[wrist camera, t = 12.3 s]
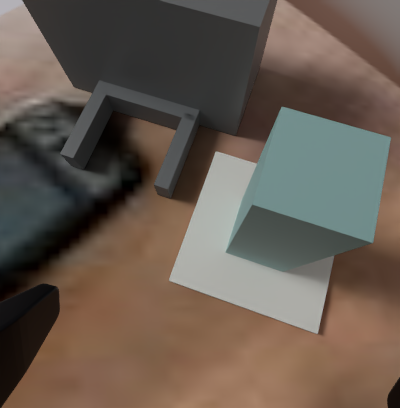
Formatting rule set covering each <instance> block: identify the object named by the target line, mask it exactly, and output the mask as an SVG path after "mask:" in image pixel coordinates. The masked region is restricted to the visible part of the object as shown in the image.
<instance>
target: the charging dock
mask: <svg viewBox="0 0 400 408" xmlns="http://www.w3.org/2000/svg"><path fill="white" fill-rule="evenodd" d="M22 1H23V2H24V4H25V6H26V7H27V9H28V11H29V12H30V14H31V16H32V17H33V19H34V21H35V22H36V24H37V26H38V28H39V29H40V31H41V33H42V34H43V36H44V38H45V39H46V41H47V43H48V44H49V46H50V48H51V49H52V51H53V53H54V54H55V56H56V58H57V59H58V61H59V63H60V64H61V66H62V68H63V70H64V71H65V73H66V75H67V76H68V78H69V80H70V81H71V83H72V85H73V86H74V87H76V88H79V89H82V90H86V91H89V92H92V95H91V97H90V99H89V101H88V102H87V104H86V106H85V108H84V110H83V112H82V114H81V116H80V118H79V119H78V121H77V123H76V125H75V127H74V129H73V131H72V133H71V134H70V136H69V138H68V140H67V142H66V144H65V146H64V148H63V149H62V151H61V153H60V154H61V155H62V156H63V157H64V158H65V160H66V161H67V162H68V163H69V164H70V165H71V166H73V167H76V168H79V169H82V170H84V168H85V166H86V164H87V162H88V160H89V158H90V156H91V154H92V152H93V150H94V148H95V146H96V144H97V142H98V140H99V138H100V136H101V134H102V132H103V130H104V128H105V126H106V124H107V122H108V120H109V118H110V116H111V114H112V112H113V111H117V112H120V113H123V114H126V115H130V116H133V117H136V118H140V119H143V120H146V121H149V122H153V123H156V124H159V125H162V126H166V127H169V128H172V129H175V130H176V133H175V135H174V138H173V140H172V142H171V145H170V147H169V150H168V152H167V154H166V157H165V159H164V162H163V164H162V166H161V169H160V171H159V174H158V176H157V178H156V181H155V183H154V186H155V189H156V191H157V194H158V195H161V196H164V197H167V198H170V199H171V196H172V194H173V191H174V189H175V186H176V183H177V181H178V178H179V176H180V173H181V171H182V168H183V166H184V163H185V161H186V158H187V156H188V153H189V150H190V148H191V145H192V143H193V140H194V138H195V135H196V133H197V130H198V128H199V125H201V126H204V127H207V128H211V129H214V130H217V131H221V132H224V133H227V134H231V135H234V136H236V134H237V131H238V128H239V125H240V122H241V119H242V117H243V114H244V111H245V108H246V105H247V102H248V99H249V97H250V94H251V91H252V88H253V85H254V82H255V79H256V77H257V74H258V71H259V68H260V64H261V61H262V57H263V53H264V49H265V45H266V41H267V38H268V34H269V30H270V26H271V22H272V18H273V14H274V11H275V7H276V3H277V0H22Z"/></svg>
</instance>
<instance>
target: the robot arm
mask: <svg viewBox="0 0 400 408" xmlns="http://www.w3.org/2000/svg"><path fill="white" fill-rule="evenodd" d="M59 311H60V303H59V289H58V287H56V286H53V285H49V284H40V285H38V286H35V287H33V288H31V289H29V290H27V291H24V292H22V293H20V294H18V295H15V296H13V297H11V298H9V299H7V300H4V301H2V302H0V408H1V407H2V406H3V404H4V403H5V401H6V400H7V399H8V397H9V396H10V394H11V393H12V391H13V390H14V389H15V387H16V386H17V384H18V383H19V382H20V380H21V379H22V377H23V376H24V374H25V373H26V371H27V369H28V368H29V366H30V365H31V363H32V361H33V359H34V358H35V356H36V354H37V352H38V351H39V349H40V347H41V345H42V344H43V342H44V340H45V338H46V337H47V335H48V333H49V332H50V330H51V328H52V326H53V325H54V323H55V321H56V319H57V317H58V315H59ZM387 405H388V408H400V377H399V379H398V380H397V382H396V383H395V385H394V386H393V388H392V389H391V391H390V392H389V394H388V398H387Z"/></svg>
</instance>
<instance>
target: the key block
mask: <svg viewBox="0 0 400 408" xmlns="http://www.w3.org/2000/svg"><path fill="white" fill-rule="evenodd" d="M390 140H391V137H388V136H384V135H381V134H377V133H374V132H370V131H367V130H363V129H360V128H356V127H353V126H349V125H346V124H342V123H339V122H335V121H331V120H328V119H324V118H321V117H317V116H314V115H310V114H307V113H303V112H300V111H296V110H293V109H289V108H286V107H281V109H280V112H279V114H278V116H277V119H276V121H275V123H274V126H273V128H272V130H271V133H270V135H269V137H268V140H267V142H266V144H265V147H264V149H263V151H262V154H261V156H260V158H259V161H258V163H257V165H256V168H255V170H254V172H253V175H252V177H251V179H250V182H249V184H248V186H247V189H246V191H245V193H244V196H243V198H242V201H241V204H240V207H239V211H238V214H237V217H236V220H235V223H234V226H233V230H232V233H231V236H230V239H229V242H228V246H227V249H226V252H225V253H228V254H231V255H234V256H237V257H240V258H243V259H246V260H249V261H252V262H255V263H258V264H261V265H264V266H267V267H270V268H273V269H276V270H279V271H282V272H284V271H287V270H290V269H293V268H296V267H299V266H303V265H306V264H309V263H312V262H315V261H318V260H321V259H325V258H328V257H331V256H334V255H337V254H340V253H343V252H346V251H350V250H353V249H356V248H359V247H362V246H365V245H368V244H371V243H373V240H374V234H375V228H376V222H377V217H378V211H379V205H380V199H381V193H382V187H383V181H384V175H385V169H386V164H387V158H388V152H389V146H390Z"/></svg>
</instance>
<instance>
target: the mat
mask: <svg viewBox="0 0 400 408" xmlns="http://www.w3.org/2000/svg"><path fill="white" fill-rule="evenodd" d="M256 165H257V164H256V163H253V162H249V161H246V160H243V159H240V158H236V157H233V156H230V155H227V154H224V153H220V152H217V151H216V152H215V155H214V158H213V161H212V163H211V166H210V169H209V172H208V174H207V177H206V180H205V183H204V185H203V188H202V191H201V193H200V196H199V199H198V202H197V204H196V207H195V210H194V213H193V215H192V218H191V221H190V224H189V226H188V229H187V232H186V235H185V237H184V240H183V243H182V246H181V248H180V251H179V254H178V257H177V259H176V262H175V265H174V268H173V270H172V273H171V276H170V278H169V281H171V282H174V283H176V284H179V285H182V286H185V287H188V288H190V289H193V290H196V291H199V292H202V293H204V294H207V295H210V296H213V297H215V298H218V299H221V300H224V301H227V302H229V303H232V304H235V305H238V306H240V307H243V308H246V309H249V310H252V311H254V312H257V313H260V314H263V315H266V316H268V317H271V318H274V319H277V320H279V321H282V322H285V323H288V324H291V325H293V326H296V327H299V328H302V329H305V330H307V331H310V332H313V333H316V334H318V330H319V326H320V321H321V316H322V312H323V307H324V302H325V297H326V293H327V288H328V283H329V279H330V274H331V269H332V264H333V260H334V256H331V257H328V258H325V259H321V260H318V261H315V262H312V263H309V264H306V265H303V266H299V267H296V268H293V269H290V270H287V271H284V272H282V271H279V270H276V269H273V268H270V267H267V266H264V265H261V264H258V263H255V262H252V261H249V260H246V259H243V258H240V257H237V256H234V255H231V254H228V253H225V252H226V249H227V246H228V242H229V239H230V236H231V233H232V230H233V226H234V223H235V220H236V217H237V214H238V211H239V207H240V204H241V201H242V198H243V196H244V193H245V191H246V189H247V186H248V184H249V182H250V179H251V177H252V175H253V172H254V170H255V168H256Z"/></svg>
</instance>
